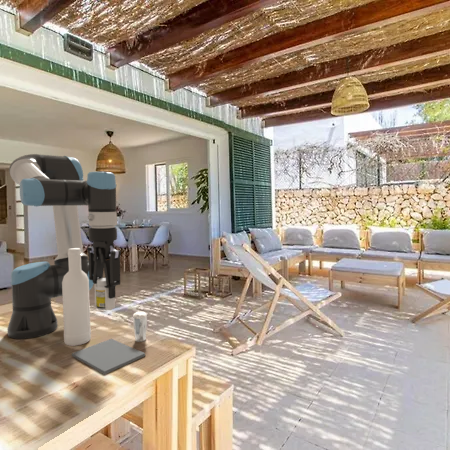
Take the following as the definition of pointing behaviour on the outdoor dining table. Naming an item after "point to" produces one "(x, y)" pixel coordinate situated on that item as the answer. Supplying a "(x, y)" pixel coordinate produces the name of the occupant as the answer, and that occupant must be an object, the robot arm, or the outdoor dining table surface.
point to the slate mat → (108, 355)
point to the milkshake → (140, 325)
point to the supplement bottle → (100, 294)
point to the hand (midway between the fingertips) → (105, 306)
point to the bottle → (76, 302)
